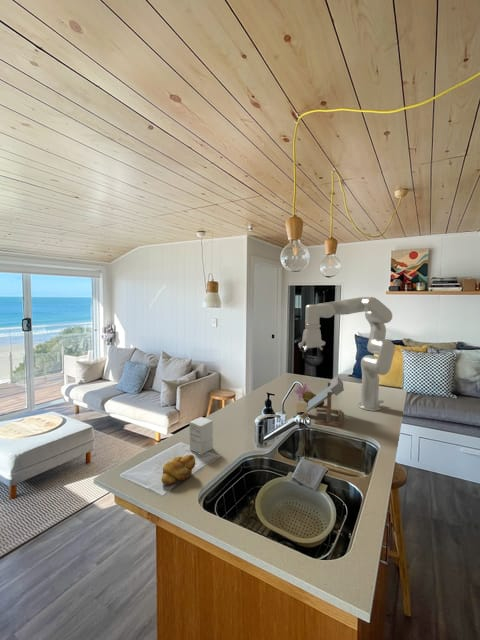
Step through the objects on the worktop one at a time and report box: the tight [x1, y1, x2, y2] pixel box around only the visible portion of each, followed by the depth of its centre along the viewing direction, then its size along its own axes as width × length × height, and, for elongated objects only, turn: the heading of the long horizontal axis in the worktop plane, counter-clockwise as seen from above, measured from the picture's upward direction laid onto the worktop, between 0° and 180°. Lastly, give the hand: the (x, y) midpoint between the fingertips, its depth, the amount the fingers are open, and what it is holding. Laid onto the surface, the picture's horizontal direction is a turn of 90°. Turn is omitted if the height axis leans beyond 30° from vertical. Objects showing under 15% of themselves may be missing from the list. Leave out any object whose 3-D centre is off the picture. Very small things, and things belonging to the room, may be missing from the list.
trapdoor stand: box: [314, 381, 344, 428], centre depth 169 cm, size 14×22×17 cm, turn 163°
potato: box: [302, 391, 325, 407], centre depth 189 cm, size 8×13×8 cm, turn 49°
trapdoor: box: [307, 375, 345, 413], centre depth 170 cm, size 22×16×4 cm
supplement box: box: [189, 416, 214, 455], centre depth 133 cm, size 7×7×13 cm
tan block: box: [295, 402, 309, 415], centre depth 173 cm, size 5×5×6 cm
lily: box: [292, 382, 313, 401], centre depth 202 cm, size 12×12×10 cm
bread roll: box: [161, 454, 196, 486], centre depth 112 cm, size 13×10×8 cm
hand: (311, 357), depth 170 cm, fingers open, 9 cm apart
